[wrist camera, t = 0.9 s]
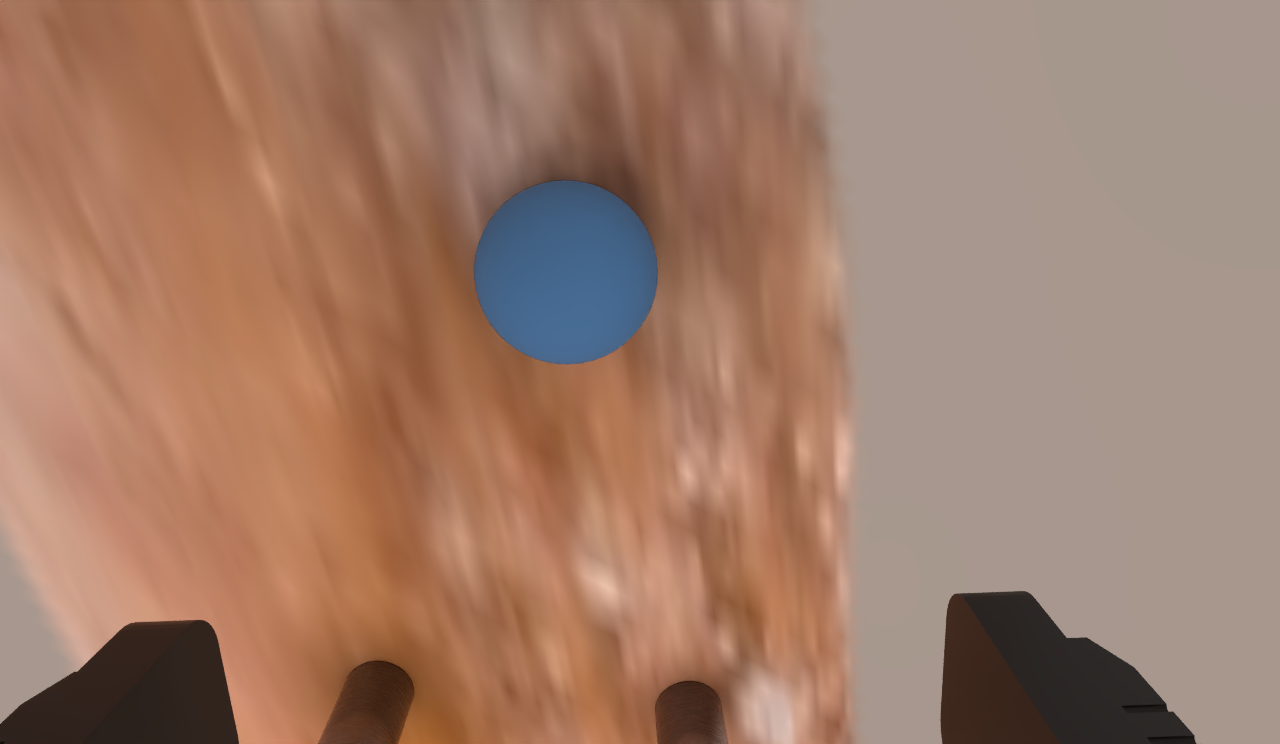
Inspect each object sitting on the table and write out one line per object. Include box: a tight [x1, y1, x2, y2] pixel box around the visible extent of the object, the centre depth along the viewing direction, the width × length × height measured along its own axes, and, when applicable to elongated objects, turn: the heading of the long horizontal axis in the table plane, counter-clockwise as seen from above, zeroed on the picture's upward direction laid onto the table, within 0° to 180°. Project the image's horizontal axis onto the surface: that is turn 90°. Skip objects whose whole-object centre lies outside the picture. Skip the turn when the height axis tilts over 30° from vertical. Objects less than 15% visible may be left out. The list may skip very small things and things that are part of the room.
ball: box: [474, 180, 658, 364], centre depth 24 cm, size 5×5×5 cm
